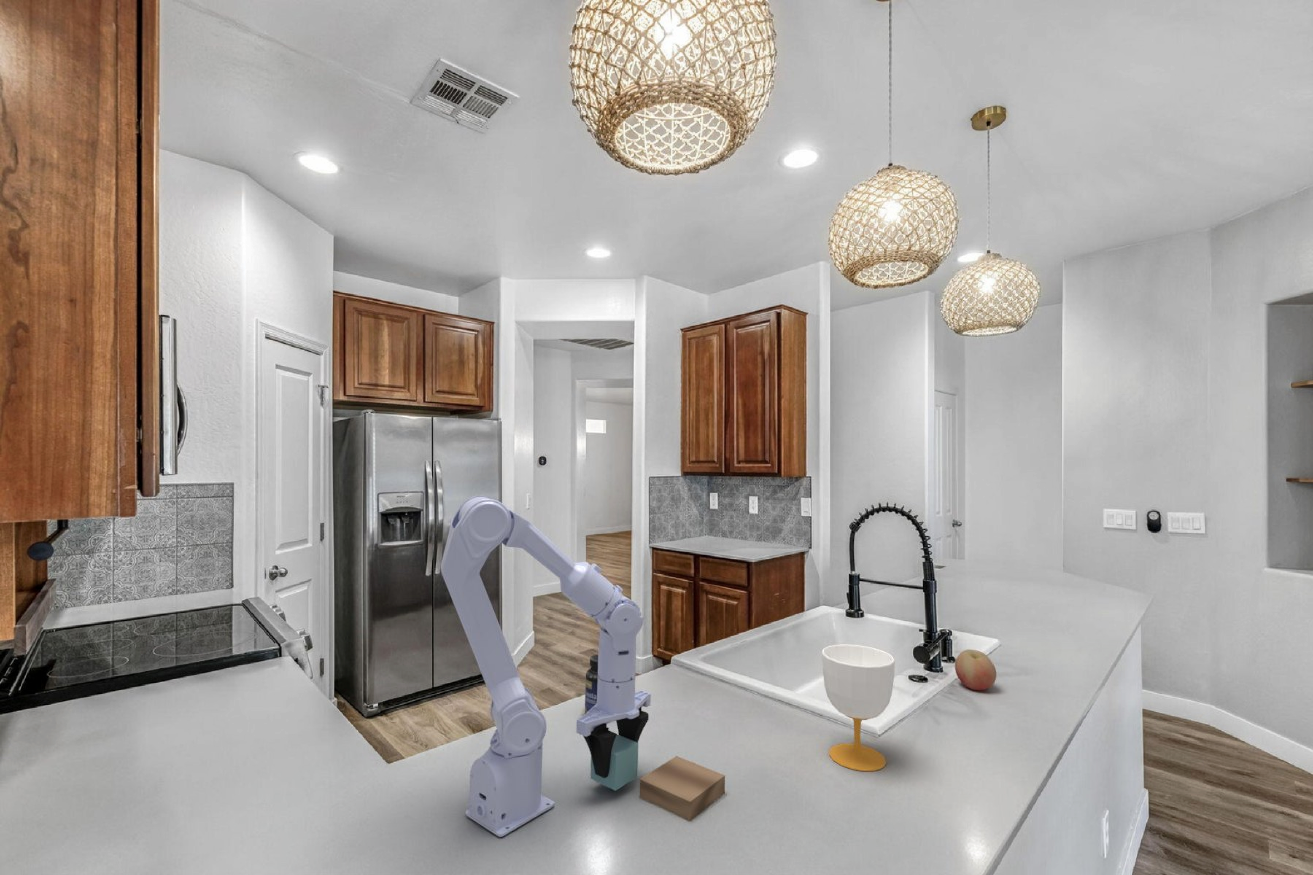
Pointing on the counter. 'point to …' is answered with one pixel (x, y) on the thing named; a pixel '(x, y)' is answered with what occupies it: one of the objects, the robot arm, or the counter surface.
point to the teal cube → (620, 764)
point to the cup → (858, 696)
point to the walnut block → (682, 787)
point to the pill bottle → (591, 684)
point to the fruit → (975, 670)
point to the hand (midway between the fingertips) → (614, 767)
